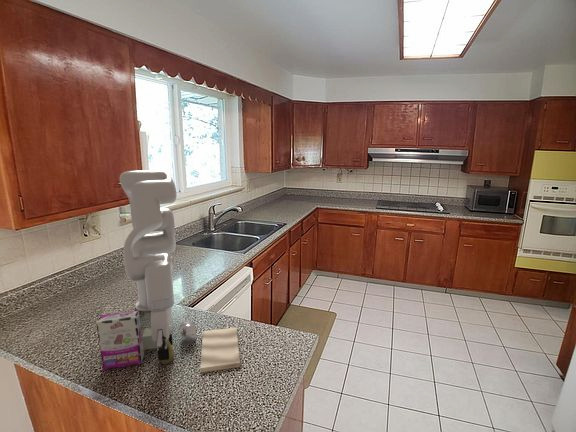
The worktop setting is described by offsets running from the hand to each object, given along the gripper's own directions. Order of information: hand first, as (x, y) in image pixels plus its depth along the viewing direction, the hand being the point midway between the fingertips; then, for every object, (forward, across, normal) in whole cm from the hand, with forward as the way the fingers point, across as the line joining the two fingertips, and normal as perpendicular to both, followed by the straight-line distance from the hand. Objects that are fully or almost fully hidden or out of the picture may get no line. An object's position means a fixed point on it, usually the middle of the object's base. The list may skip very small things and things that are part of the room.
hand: (165, 351), depth 100 cm
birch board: (+3, -2, +17) cm, 17 cm away
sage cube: (+3, -10, -6) cm, 12 cm away
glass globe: (+3, -10, +6) cm, 12 cm away
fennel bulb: (+3, 0, 0) cm, 3 cm away
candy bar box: (+3, -2, -13) cm, 14 cm away
